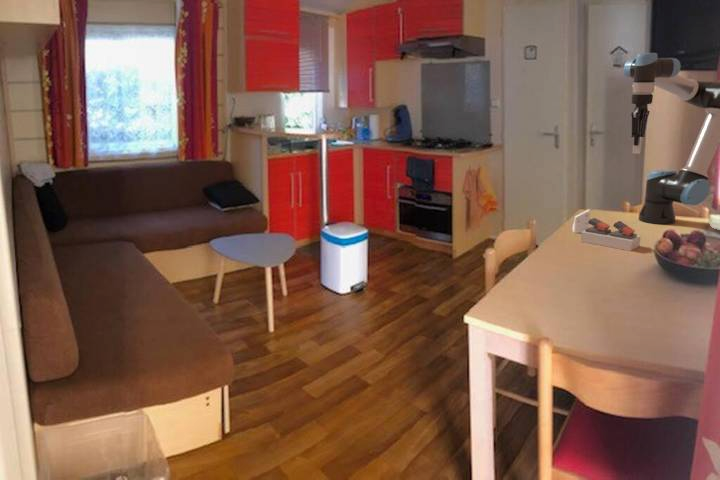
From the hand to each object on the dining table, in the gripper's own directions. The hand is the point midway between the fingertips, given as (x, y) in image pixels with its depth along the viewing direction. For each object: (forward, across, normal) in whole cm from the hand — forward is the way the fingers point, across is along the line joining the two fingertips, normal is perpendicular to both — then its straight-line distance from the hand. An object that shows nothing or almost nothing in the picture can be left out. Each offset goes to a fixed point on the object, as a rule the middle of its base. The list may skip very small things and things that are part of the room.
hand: (636, 153), depth 246 cm
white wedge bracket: (+35, +8, -17) cm, 39 cm away
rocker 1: (+29, +18, -5) cm, 34 cm away
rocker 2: (+29, +18, +4) cm, 34 cm away
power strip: (+34, +18, 0) cm, 39 cm away
